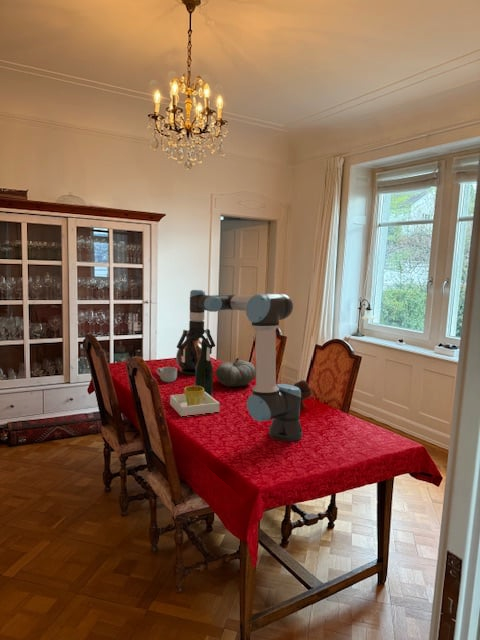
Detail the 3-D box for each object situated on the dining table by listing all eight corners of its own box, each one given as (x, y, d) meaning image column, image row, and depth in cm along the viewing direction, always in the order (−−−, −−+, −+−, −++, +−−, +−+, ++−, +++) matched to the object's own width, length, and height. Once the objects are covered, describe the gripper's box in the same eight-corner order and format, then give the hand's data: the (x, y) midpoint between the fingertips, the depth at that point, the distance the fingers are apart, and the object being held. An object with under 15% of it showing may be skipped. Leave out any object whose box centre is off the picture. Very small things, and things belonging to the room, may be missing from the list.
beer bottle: (201, 398, 248) (203, 340, 243) (190, 393, 255) (192, 337, 251) (216, 395, 255) (218, 339, 250) (205, 390, 262) (207, 336, 258)
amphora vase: (180, 367, 314) (181, 328, 310) (210, 369, 311) (211, 330, 307) (171, 375, 293) (172, 333, 289) (203, 377, 290) (205, 335, 286)
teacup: (180, 380, 281) (180, 368, 280) (168, 384, 272) (169, 372, 271) (163, 377, 288) (164, 365, 287) (152, 380, 279) (152, 368, 278)
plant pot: (186, 410, 224) (187, 392, 223) (181, 404, 234) (181, 386, 233) (206, 408, 228) (206, 390, 227) (200, 402, 238) (200, 385, 237)
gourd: (264, 383, 274) (260, 356, 272) (231, 395, 261) (226, 366, 259) (242, 377, 295) (238, 352, 293) (210, 388, 282) (206, 362, 279)
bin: (219, 412, 227) (219, 403, 226) (182, 417, 218) (182, 407, 218) (205, 400, 245) (205, 391, 244) (170, 404, 236) (170, 395, 235)
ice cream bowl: (314, 406, 242) (316, 380, 240) (302, 411, 234) (304, 383, 232) (298, 401, 249) (300, 376, 247) (286, 406, 241) (288, 379, 239)
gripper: (216, 318, 234) (215, 357, 237) (170, 319, 223) (170, 361, 226) (222, 320, 227) (220, 361, 230) (175, 321, 216) (174, 364, 219)
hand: (195, 361), depth 228 cm, fingers open, 13 cm apart
